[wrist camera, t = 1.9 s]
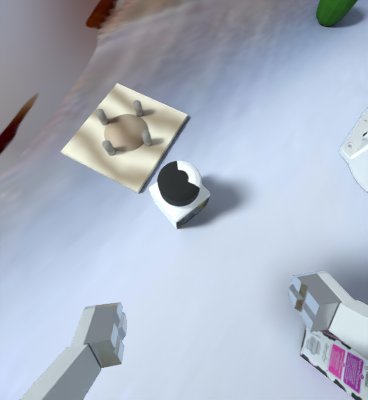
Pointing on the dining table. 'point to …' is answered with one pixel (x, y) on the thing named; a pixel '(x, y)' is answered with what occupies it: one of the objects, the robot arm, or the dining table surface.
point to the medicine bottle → (179, 192)
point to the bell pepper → (333, 10)
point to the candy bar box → (337, 362)
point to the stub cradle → (126, 137)
